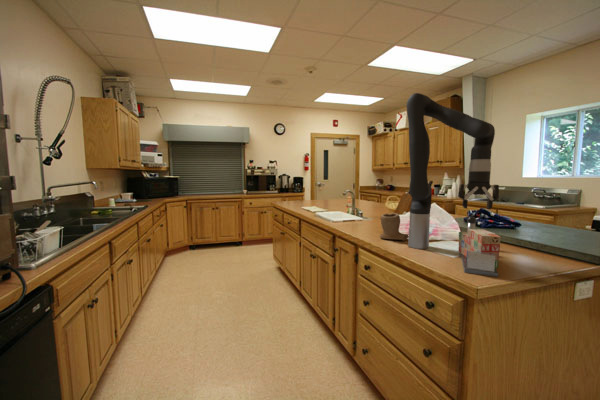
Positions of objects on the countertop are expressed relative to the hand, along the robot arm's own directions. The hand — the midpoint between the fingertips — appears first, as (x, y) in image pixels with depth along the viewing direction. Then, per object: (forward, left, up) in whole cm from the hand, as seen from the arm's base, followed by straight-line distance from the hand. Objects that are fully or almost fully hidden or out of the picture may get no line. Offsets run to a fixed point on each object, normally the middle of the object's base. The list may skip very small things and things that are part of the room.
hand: (476, 208), depth 111 cm
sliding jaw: (0, +16, -20) cm, 26 cm away
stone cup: (-37, +20, -22) cm, 47 cm away
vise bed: (0, -3, -22) cm, 22 cm away
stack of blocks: (0, -6, -21) cm, 21 cm away
